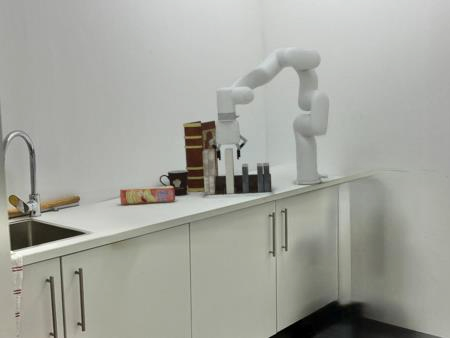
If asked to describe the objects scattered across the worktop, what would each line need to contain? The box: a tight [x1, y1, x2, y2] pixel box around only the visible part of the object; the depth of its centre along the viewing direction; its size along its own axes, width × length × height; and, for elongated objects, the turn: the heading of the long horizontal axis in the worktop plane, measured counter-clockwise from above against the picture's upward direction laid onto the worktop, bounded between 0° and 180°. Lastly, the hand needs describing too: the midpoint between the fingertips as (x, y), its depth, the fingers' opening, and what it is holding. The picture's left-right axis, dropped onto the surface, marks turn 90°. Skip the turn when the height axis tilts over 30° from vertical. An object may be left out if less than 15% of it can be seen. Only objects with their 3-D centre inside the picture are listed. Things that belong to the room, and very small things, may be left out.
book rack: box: [203, 149, 273, 197], centre depth 263 cm, size 28×14×19 cm, turn 94°
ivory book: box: [224, 147, 235, 195], centre depth 262 cm, size 3×11×18 cm, turn 4°
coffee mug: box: [159, 169, 188, 197], centre depth 267 cm, size 12×9×10 cm
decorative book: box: [182, 120, 219, 193], centre depth 282 cm, size 22×8×30 cm, turn 168°
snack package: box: [119, 185, 176, 206], centre depth 249 cm, size 21×7×7 cm, turn 99°
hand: (229, 159), depth 262 cm, fingers open, 7 cm apart
